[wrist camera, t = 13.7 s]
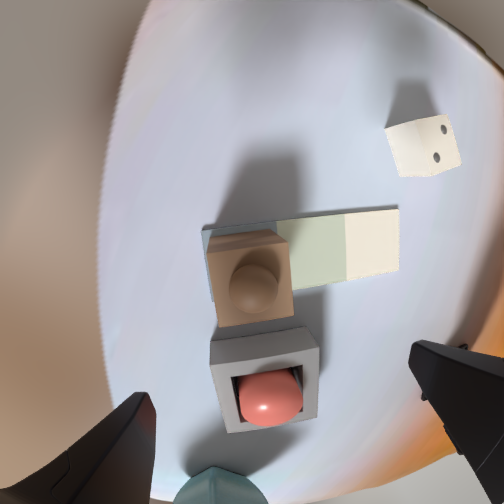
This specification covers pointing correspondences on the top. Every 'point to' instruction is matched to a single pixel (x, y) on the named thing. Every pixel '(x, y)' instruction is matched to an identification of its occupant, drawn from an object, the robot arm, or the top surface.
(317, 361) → the button housing
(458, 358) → the robot arm
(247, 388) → the pink push button
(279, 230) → the mat
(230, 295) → the cube with dome knob
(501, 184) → the top surface
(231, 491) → the flower pot
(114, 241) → the top surface
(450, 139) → the die
